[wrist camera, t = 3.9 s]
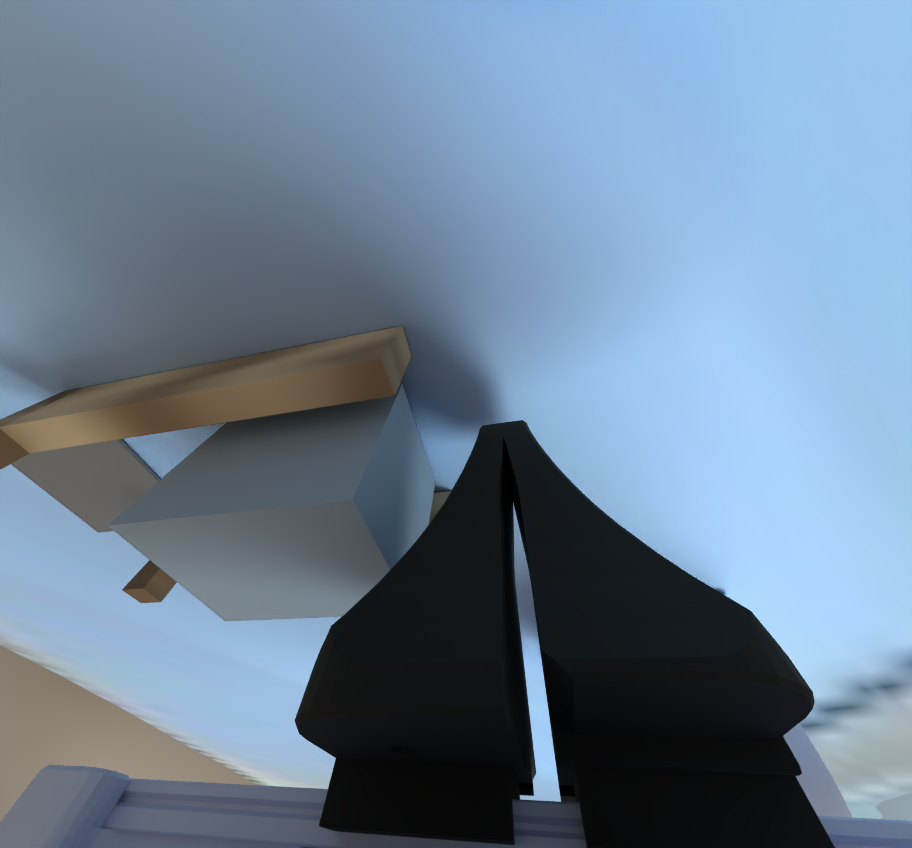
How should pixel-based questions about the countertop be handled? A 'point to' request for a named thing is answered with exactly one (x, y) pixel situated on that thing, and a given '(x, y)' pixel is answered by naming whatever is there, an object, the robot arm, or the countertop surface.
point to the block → (289, 510)
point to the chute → (212, 404)
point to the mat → (91, 479)
